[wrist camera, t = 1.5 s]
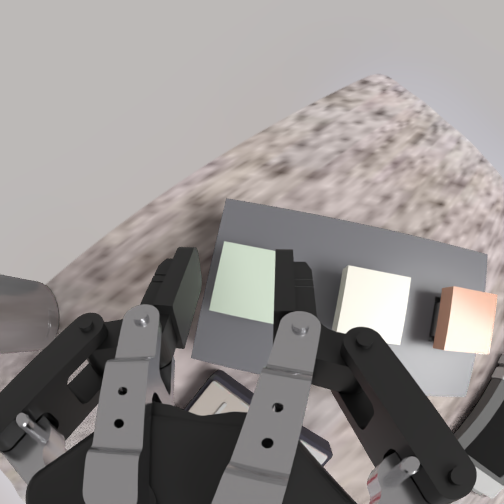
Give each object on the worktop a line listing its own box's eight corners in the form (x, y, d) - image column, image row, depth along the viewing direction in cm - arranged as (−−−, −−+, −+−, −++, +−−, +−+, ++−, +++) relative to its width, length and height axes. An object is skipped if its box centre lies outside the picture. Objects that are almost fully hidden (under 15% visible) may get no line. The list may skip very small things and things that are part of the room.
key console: (208, 348, 32) (190, 357, 25) (236, 220, 35) (226, 198, 28) (434, 384, 29) (465, 396, 23) (454, 265, 32) (487, 254, 25)
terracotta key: (415, 344, 26) (443, 350, 20) (424, 291, 26) (453, 286, 21) (457, 349, 25) (488, 354, 20) (465, 298, 26) (497, 294, 20)
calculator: (211, 372, 29) (335, 457, 25) (221, 367, 33) (330, 442, 30) (152, 445, 27) (267, 523, 24) (166, 434, 32) (269, 504, 28)
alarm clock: (559, 410, 23) (500, 507, 21) (540, 407, 28) (483, 497, 25) (515, 354, 26) (442, 472, 23) (493, 354, 31) (425, 460, 28)
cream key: (324, 330, 26) (335, 335, 21) (334, 274, 27) (348, 265, 22) (377, 339, 26) (400, 344, 21) (387, 284, 27) (411, 277, 21)
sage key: (221, 310, 27) (209, 310, 22) (234, 254, 28) (224, 241, 23) (278, 322, 27) (279, 325, 22) (290, 265, 28) (293, 254, 22)
